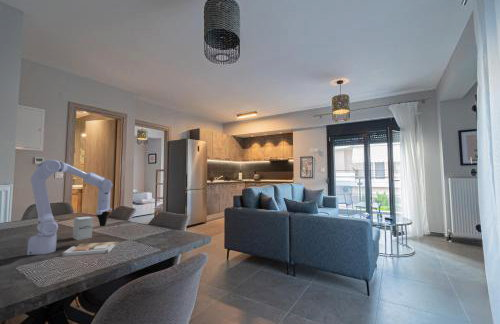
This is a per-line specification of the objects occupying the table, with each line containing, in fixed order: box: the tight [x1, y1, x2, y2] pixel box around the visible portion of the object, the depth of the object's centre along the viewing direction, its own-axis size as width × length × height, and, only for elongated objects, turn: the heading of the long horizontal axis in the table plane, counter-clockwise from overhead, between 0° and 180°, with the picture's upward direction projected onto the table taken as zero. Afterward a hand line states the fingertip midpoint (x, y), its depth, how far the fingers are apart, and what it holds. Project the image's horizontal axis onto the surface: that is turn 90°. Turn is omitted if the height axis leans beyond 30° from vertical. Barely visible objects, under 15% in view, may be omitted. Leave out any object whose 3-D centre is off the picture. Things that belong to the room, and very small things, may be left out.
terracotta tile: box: [72, 246, 91, 252], centre depth 108 cm, size 5×5×2 cm
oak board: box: [75, 241, 119, 249], centre depth 116 cm, size 18×9×1 cm, turn 107°
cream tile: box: [92, 245, 108, 250], centre depth 110 cm, size 5×5×2 cm
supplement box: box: [72, 216, 94, 241], centre depth 130 cm, size 7×7×13 cm
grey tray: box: [61, 244, 115, 257], centre depth 107 cm, size 18×10×2 cm, turn 107°
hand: (102, 225), depth 124 cm, fingers closed
